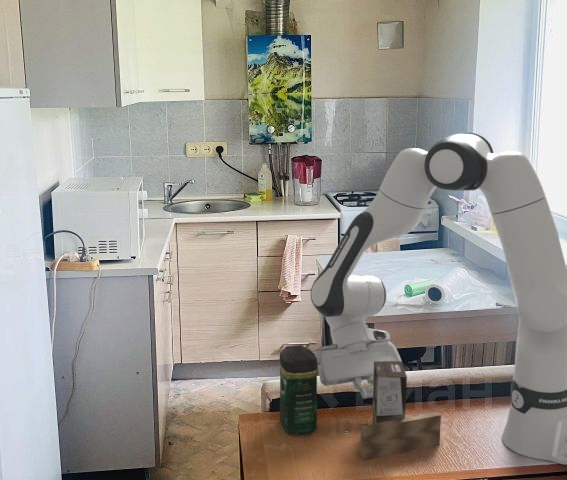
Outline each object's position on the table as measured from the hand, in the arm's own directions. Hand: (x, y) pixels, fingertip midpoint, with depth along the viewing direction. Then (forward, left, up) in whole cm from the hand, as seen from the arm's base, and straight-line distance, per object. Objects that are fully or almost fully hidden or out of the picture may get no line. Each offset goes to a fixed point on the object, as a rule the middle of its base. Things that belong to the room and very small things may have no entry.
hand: (369, 397), depth 157 cm
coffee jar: (+16, -3, -6) cm, 18 cm away
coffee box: (0, +8, -6) cm, 10 cm away
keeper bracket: (0, +12, -6) cm, 14 cm away
